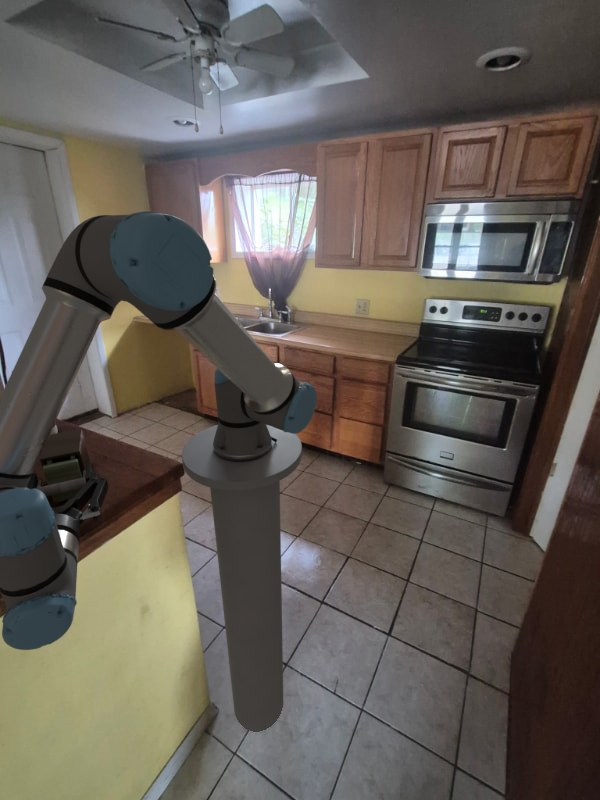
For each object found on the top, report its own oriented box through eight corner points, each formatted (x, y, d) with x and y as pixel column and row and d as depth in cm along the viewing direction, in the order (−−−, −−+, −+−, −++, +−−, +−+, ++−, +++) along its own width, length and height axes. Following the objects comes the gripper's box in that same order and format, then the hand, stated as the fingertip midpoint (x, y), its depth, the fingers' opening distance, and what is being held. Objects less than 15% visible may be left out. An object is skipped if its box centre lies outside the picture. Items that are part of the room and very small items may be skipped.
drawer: (93, 507, 76) (84, 472, 73) (41, 520, 72) (29, 484, 69) (94, 469, 89) (86, 437, 85) (50, 478, 85) (40, 446, 82)
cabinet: (90, 490, 83) (79, 451, 78) (52, 499, 80) (39, 459, 76) (91, 465, 92) (81, 428, 88) (57, 472, 89) (46, 435, 85)
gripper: (-28, 590, 55) (4, 502, 74) (130, 542, 64) (123, 474, 83) (-46, 552, 52) (-8, 470, 71) (122, 508, 61) (117, 445, 80)
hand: (63, 472), depth 77 cm, fingers closed on drawer, 9 cm apart
